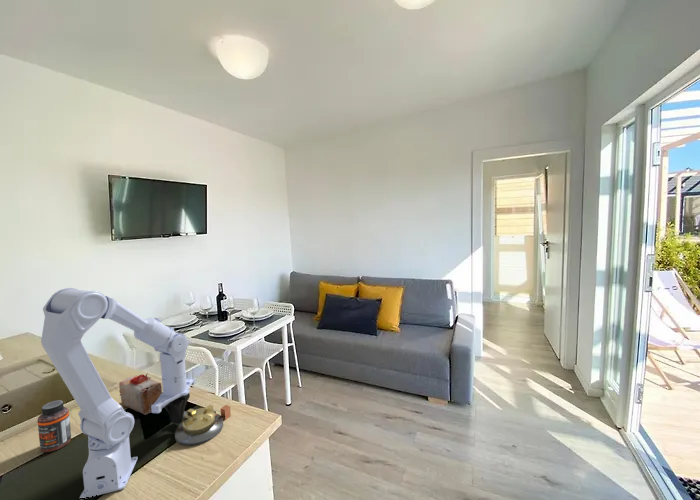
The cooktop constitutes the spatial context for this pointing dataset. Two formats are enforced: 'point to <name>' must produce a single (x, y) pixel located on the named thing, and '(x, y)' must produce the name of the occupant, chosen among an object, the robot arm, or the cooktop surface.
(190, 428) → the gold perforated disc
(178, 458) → the cooktop surface
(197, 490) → the cooktop surface
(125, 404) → the food item
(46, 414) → the supplement bottle
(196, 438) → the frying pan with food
